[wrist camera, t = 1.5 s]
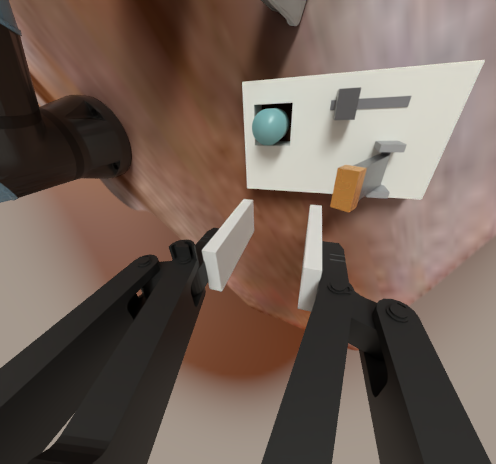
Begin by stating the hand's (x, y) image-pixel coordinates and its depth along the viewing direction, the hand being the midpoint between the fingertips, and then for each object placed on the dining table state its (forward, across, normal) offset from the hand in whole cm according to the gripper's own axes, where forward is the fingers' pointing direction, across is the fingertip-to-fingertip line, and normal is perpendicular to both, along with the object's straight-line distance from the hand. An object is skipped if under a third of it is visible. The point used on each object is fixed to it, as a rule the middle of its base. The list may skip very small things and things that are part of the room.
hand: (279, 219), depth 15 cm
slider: (+17, +4, +7) cm, 19 cm away
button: (+19, -4, +5) cm, 20 cm away
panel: (+21, +4, +3) cm, 21 cm away
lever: (+16, +10, 0) cm, 19 cm away
